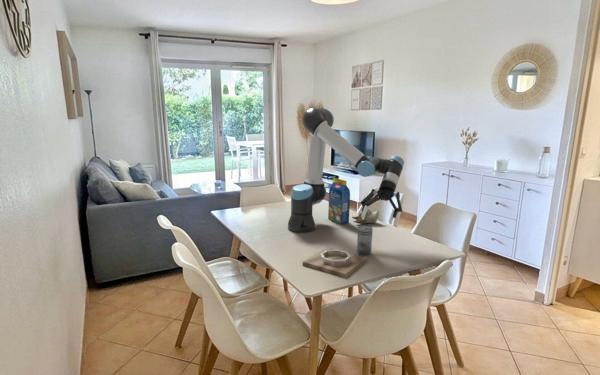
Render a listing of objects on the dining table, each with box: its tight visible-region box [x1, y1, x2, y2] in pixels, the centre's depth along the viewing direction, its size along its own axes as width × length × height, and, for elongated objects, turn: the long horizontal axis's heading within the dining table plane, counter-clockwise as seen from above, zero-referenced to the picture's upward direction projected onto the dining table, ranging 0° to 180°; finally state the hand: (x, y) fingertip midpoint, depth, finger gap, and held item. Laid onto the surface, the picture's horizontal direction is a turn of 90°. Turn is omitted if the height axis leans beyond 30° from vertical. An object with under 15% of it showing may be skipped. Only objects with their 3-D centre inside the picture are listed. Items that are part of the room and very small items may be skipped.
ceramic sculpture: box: [351, 208, 380, 225], centre depth 206 cm, size 11×9×15 cm
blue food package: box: [327, 177, 351, 225], centre depth 207 cm, size 6×12×25 cm, turn 33°
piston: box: [356, 225, 374, 257], centre depth 160 cm, size 6×6×12 cm
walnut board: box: [302, 247, 368, 278], centre depth 151 cm, size 20×20×2 cm
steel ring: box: [320, 248, 351, 266], centre depth 150 cm, size 12×12×2 cm
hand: (375, 220), depth 166 cm, fingers open, 13 cm apart
